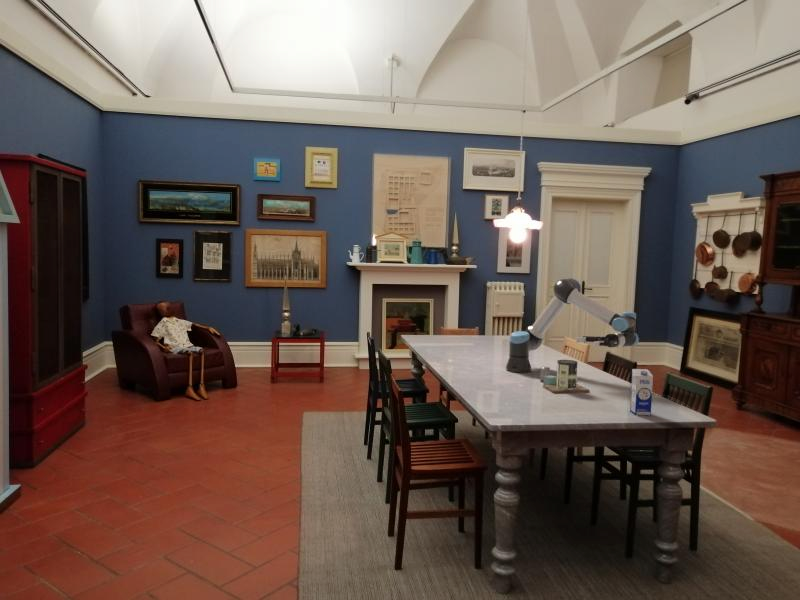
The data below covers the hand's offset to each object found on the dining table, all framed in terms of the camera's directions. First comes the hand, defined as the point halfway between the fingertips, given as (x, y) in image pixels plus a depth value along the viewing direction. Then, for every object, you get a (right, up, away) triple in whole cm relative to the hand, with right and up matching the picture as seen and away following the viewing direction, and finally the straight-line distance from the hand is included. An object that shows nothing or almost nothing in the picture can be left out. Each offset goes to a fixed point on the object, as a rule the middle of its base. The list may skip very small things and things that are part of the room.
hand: (585, 341), depth 311 cm
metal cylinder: (-19, -23, +11) cm, 32 cm away
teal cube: (-18, -24, +2) cm, 30 cm away
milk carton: (+9, -29, -51) cm, 59 cm away
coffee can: (-12, -24, -8) cm, 28 cm away
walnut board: (-13, -25, -7) cm, 29 cm away
